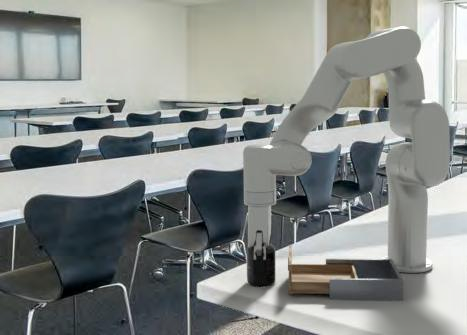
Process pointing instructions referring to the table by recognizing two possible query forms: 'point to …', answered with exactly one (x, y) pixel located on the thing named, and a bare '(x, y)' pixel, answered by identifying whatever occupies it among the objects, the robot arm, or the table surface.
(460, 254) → the table surface
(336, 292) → the housing
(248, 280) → the supplement bottle
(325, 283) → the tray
